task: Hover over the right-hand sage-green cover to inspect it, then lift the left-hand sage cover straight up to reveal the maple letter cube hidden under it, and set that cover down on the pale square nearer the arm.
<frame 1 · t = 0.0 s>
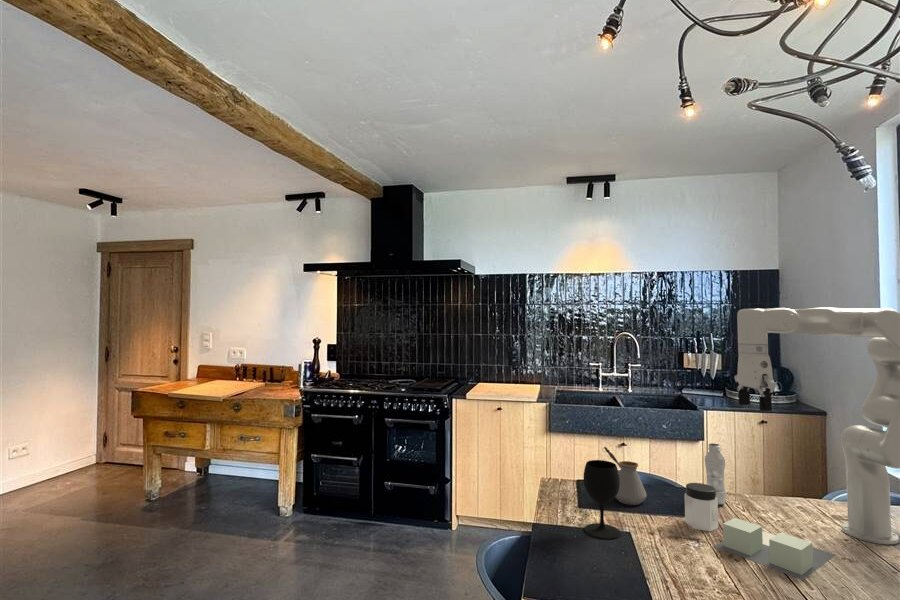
hand: (754, 407, 140), 37 cm above the table, tool pointing down, fingers open, 9 cm apart
coffee pot: (621, 496, 170), on the table
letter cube: (743, 547, 130), point 1 cm above the table, touching slate mat
jar: (701, 527, 144), on the table
plastic bottle: (715, 503, 163), on the table
slate mat: (773, 552, 128), on the table
cover a: (791, 564, 120), point 1 cm above the table, touching slate mat
cover b: (743, 547, 130), point 1 cm above the table, touching slate mat
wine glass: (602, 532, 141), on the table
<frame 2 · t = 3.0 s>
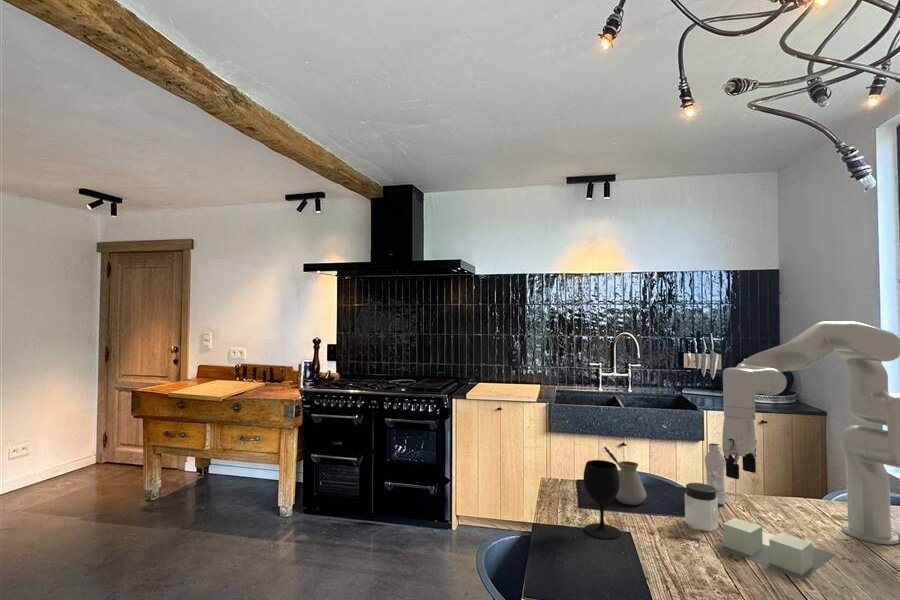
hand: (741, 474, 131), 20 cm above the table, tool pointing down, fingers open, 9 cm apart
nothing on the table moved.
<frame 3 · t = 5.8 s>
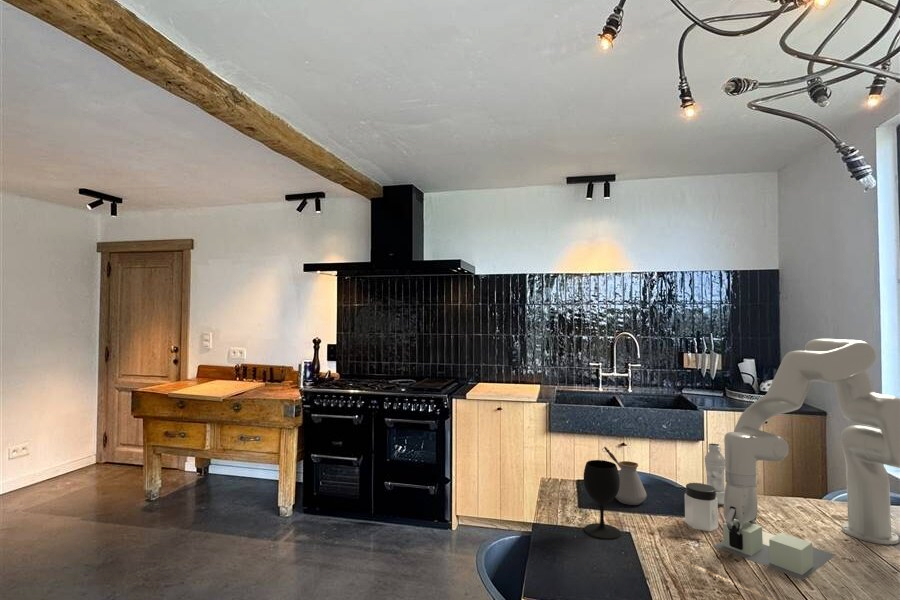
hand: (742, 543, 130), 2 cm above the table, tool pointing down, fingers closed on cover b, 7 cm apart
cover b: (743, 547, 130), point 1 cm above the table, touching gripper, slate mat
everything else where it was.
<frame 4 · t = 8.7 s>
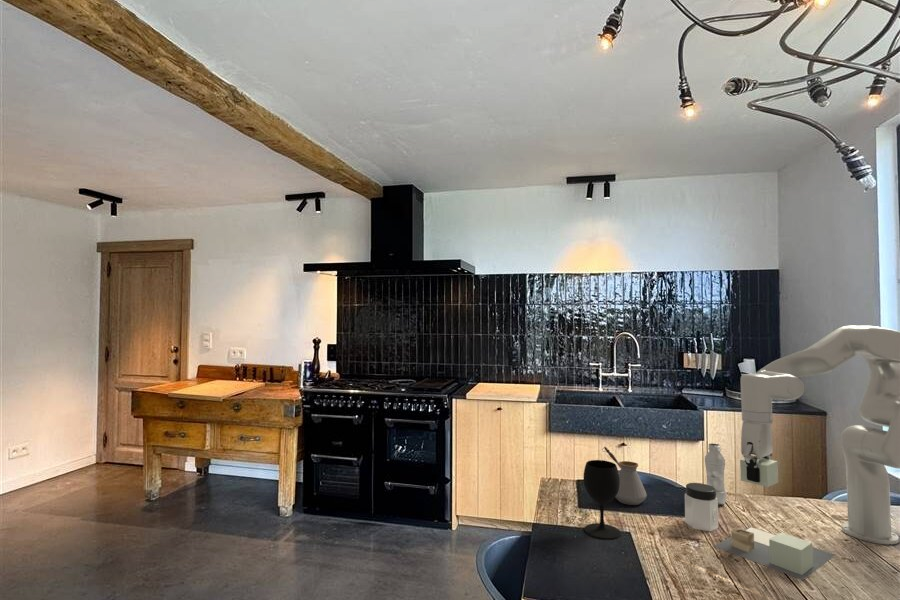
hand: (759, 477, 137), 17 cm above the table, tool pointing down, fingers closed on cover b, 7 cm apart
cover b: (759, 481, 137), point 16 cm above the table, touching gripper
everything else where it was.
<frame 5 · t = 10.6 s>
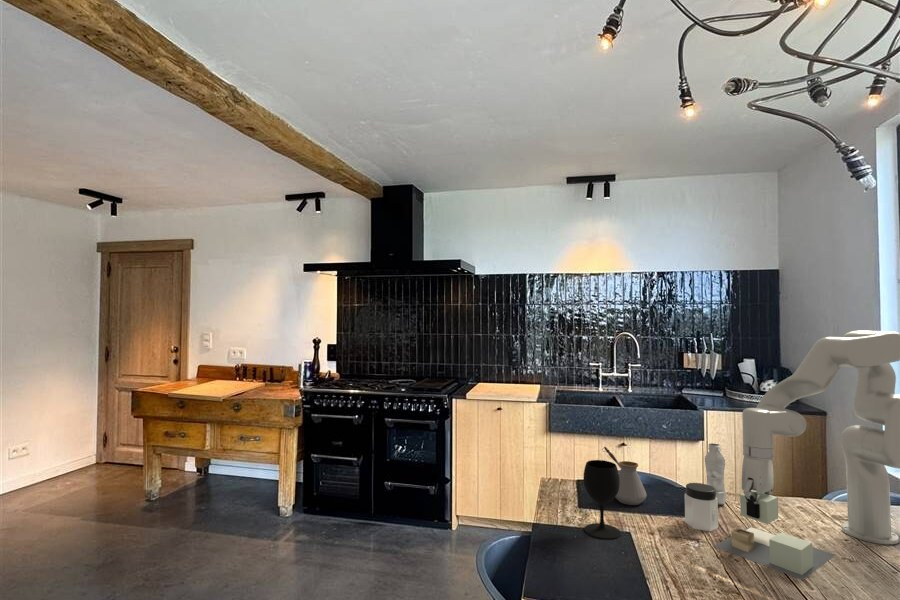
hand: (759, 513, 136), 7 cm above the table, tool pointing down, fingers closed on cover b, 7 cm apart
cover b: (759, 516, 136), point 6 cm above the table, touching gripper
everything else where it was.
when the fingers open (3 cm above the table, at t = 12.0 s): cover b drops 2 cm, resting on slate mat.
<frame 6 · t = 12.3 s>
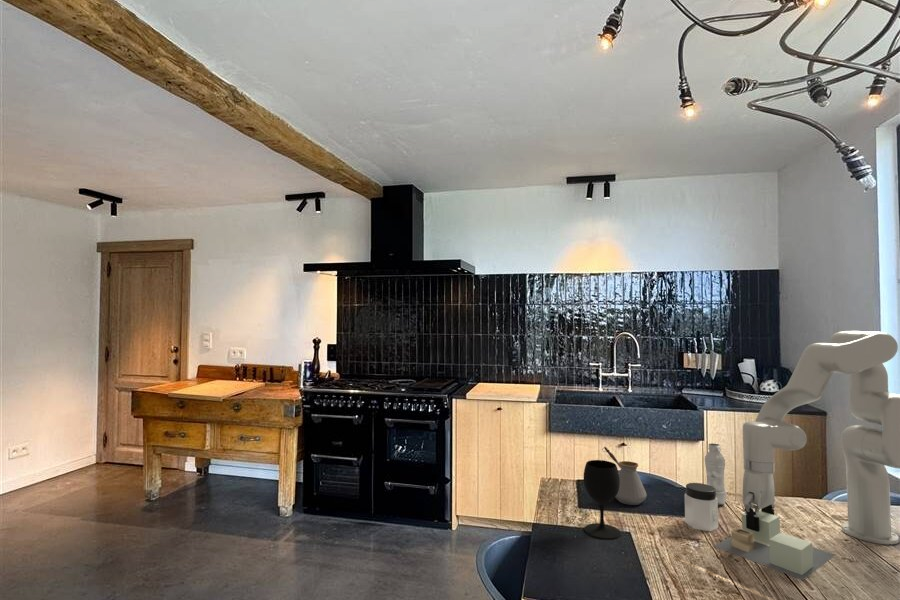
hand: (760, 525, 136), 4 cm above the table, tool pointing down, fingers open, 9 cm apart
cover b: (761, 536, 136), point 1 cm above the table, touching slate mat
everything else where it was.
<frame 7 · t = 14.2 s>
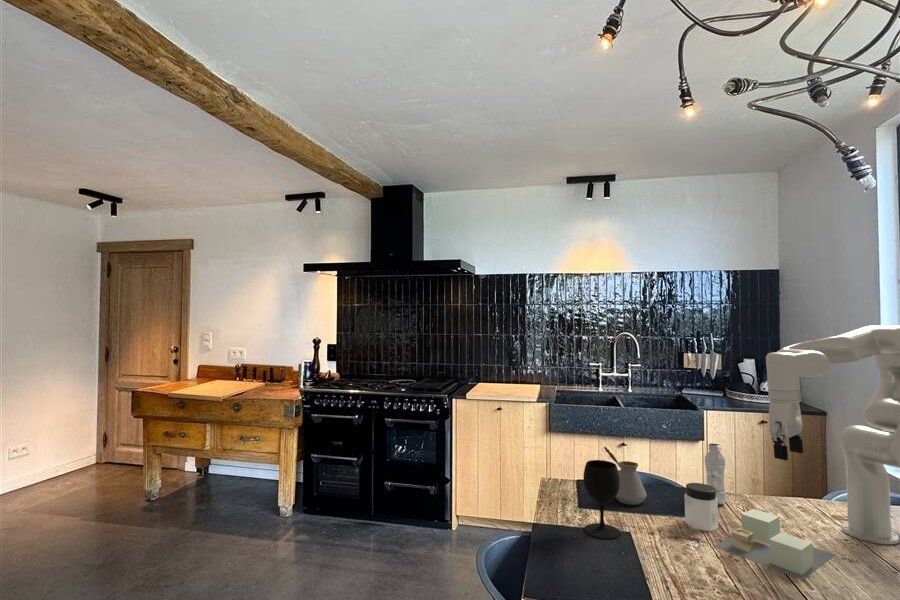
hand: (789, 455, 134), 25 cm above the table, tool pointing down, fingers open, 9 cm apart
nothing on the table moved.
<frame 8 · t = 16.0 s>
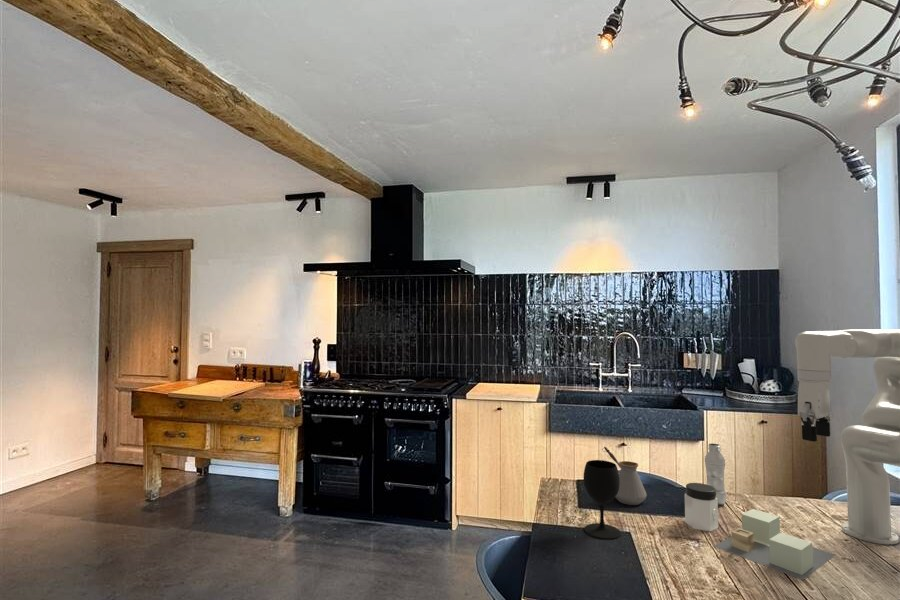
hand: (816, 438, 131), 30 cm above the table, tool pointing down, fingers open, 9 cm apart
nothing on the table moved.
at the end: cover b 0.1 cm from the target spot, point 0.7 cm above the table; cover b tilted 0°; cover a moved 0.0 cm from its start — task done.
